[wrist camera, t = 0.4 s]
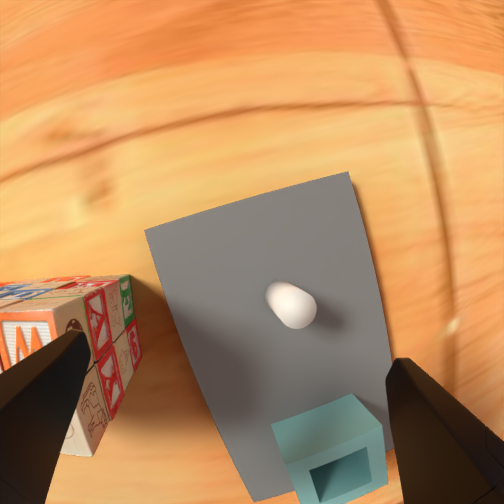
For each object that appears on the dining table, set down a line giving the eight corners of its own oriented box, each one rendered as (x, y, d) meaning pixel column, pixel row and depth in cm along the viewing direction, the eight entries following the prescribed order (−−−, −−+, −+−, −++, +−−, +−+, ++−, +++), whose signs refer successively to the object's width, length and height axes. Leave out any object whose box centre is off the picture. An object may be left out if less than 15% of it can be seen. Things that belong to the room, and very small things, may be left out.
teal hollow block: (362, 450, 23) (388, 483, 18) (291, 478, 22) (306, 517, 17) (351, 393, 22) (381, 424, 17) (270, 424, 21) (285, 464, 16)
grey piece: (393, 436, 25) (425, 469, 19) (251, 491, 23) (261, 537, 17) (339, 175, 23) (379, 157, 17) (148, 230, 21) (126, 228, 15)
